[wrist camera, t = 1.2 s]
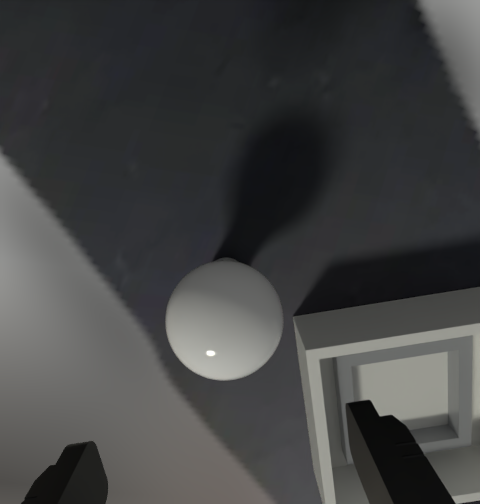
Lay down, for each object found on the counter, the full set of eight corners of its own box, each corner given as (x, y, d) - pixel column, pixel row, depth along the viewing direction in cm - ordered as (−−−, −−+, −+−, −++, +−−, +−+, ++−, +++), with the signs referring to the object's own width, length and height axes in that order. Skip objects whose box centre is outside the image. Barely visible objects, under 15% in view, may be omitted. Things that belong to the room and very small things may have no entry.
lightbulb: (201, 217, 26) (182, 264, 16) (282, 249, 27) (315, 314, 17) (171, 294, 28) (136, 383, 17) (249, 321, 29) (260, 423, 18)
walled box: (292, 316, 29) (305, 350, 24) (485, 285, 28) (537, 314, 24) (313, 467, 33) (327, 523, 28) (481, 442, 32) (524, 493, 28)
